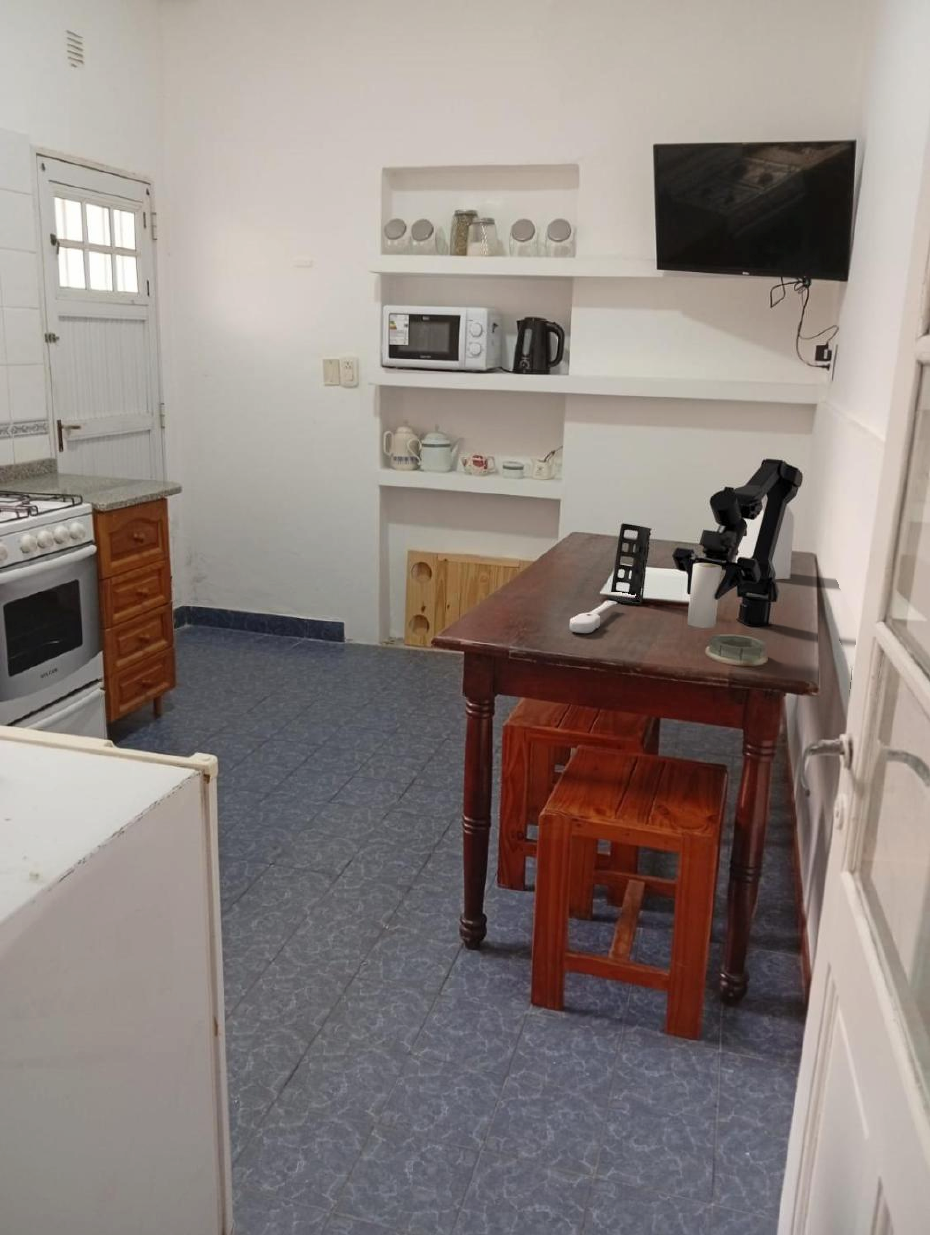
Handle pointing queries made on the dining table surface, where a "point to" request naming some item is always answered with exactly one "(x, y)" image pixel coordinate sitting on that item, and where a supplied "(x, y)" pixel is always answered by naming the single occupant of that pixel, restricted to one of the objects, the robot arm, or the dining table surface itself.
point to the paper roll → (704, 595)
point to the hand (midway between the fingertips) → (701, 595)
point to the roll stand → (737, 650)
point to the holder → (638, 563)
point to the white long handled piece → (589, 619)
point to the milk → (783, 545)
